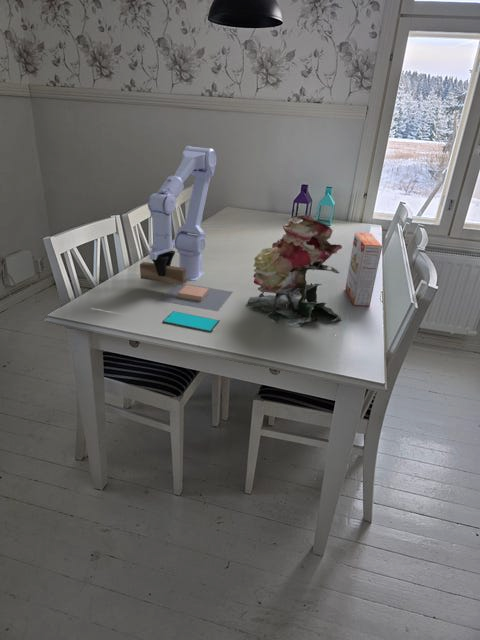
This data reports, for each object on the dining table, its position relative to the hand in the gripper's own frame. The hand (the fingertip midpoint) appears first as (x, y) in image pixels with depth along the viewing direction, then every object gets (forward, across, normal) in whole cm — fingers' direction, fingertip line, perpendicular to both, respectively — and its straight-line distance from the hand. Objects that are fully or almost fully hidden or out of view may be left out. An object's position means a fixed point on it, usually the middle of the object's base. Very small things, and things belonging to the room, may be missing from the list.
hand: (163, 274), depth 138 cm
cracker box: (+6, -21, +62) cm, 66 cm away
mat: (+6, 0, +12) cm, 13 cm away
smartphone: (+7, +17, +17) cm, 25 cm away
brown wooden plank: (+2, 0, 0) cm, 2 cm away
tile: (+5, 0, +7) cm, 8 cm away
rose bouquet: (+6, -3, +41) cm, 42 cm away
